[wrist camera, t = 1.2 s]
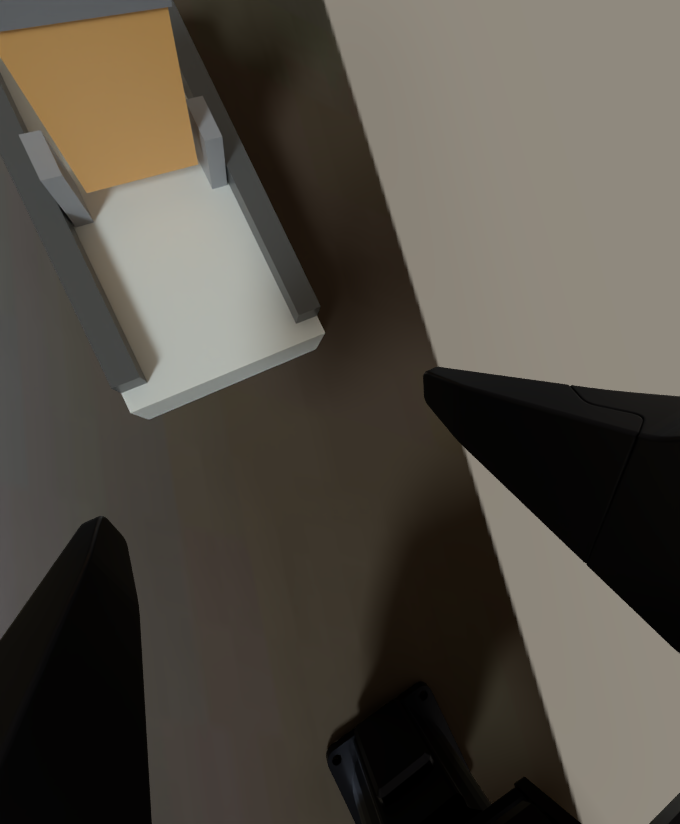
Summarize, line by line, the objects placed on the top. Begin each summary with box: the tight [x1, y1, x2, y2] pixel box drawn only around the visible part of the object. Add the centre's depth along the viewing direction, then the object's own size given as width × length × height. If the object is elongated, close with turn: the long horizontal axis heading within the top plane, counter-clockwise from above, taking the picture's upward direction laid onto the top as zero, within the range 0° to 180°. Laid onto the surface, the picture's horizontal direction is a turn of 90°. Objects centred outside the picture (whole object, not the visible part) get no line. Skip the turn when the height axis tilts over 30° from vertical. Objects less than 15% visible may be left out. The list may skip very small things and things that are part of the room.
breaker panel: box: [0, 0, 325, 419], centre depth 18 cm, size 20×10×6 cm, turn 26°
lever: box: [0, 0, 198, 193], centre depth 13 cm, size 2×5×8 cm, turn 116°
